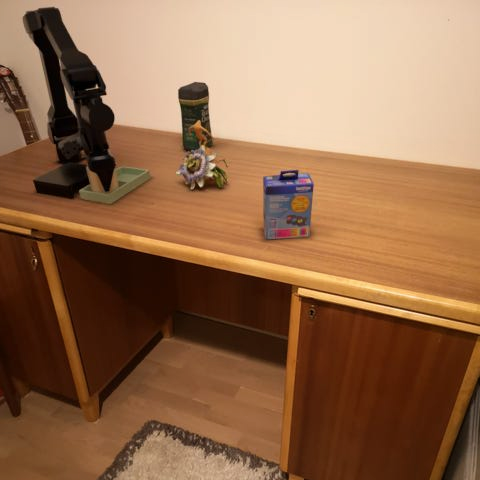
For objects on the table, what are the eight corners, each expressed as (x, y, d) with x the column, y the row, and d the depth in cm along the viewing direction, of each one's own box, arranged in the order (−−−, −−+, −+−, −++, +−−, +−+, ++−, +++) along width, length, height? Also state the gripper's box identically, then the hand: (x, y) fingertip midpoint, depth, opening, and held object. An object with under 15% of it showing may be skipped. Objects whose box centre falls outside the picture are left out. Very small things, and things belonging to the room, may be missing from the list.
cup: (104, 185, 124) (98, 159, 120) (124, 188, 121) (119, 162, 117) (87, 195, 119) (80, 168, 115) (108, 198, 117) (102, 171, 112)
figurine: (221, 160, 137) (218, 118, 130) (210, 167, 133) (206, 124, 126) (198, 156, 141) (194, 115, 133) (186, 163, 137) (182, 120, 129)
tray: (123, 173, 132) (121, 165, 130) (150, 178, 129) (149, 169, 127) (81, 199, 119) (78, 190, 118) (110, 204, 116) (108, 195, 114)
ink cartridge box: (265, 241, 98) (264, 174, 89) (262, 229, 102) (261, 164, 93) (311, 237, 98) (315, 170, 89) (306, 225, 103) (309, 160, 94)
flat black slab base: (72, 174, 133) (68, 162, 131) (105, 179, 129) (102, 166, 127) (36, 192, 123) (32, 180, 121) (71, 199, 119) (68, 186, 117)
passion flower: (195, 208, 124) (165, 172, 119) (213, 186, 131) (184, 151, 126) (223, 192, 117) (192, 153, 112) (240, 169, 123) (211, 131, 118)
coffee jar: (201, 153, 142) (195, 87, 131) (179, 150, 145) (172, 86, 134) (216, 144, 149) (212, 80, 138) (195, 141, 152) (190, 79, 141)
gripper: (53, 116, 114) (70, 177, 124) (57, 137, 100) (75, 204, 110) (98, 110, 117) (111, 171, 127) (108, 130, 103) (122, 196, 113)
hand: (104, 185), depth 119 cm, fingers open, 9 cm apart
